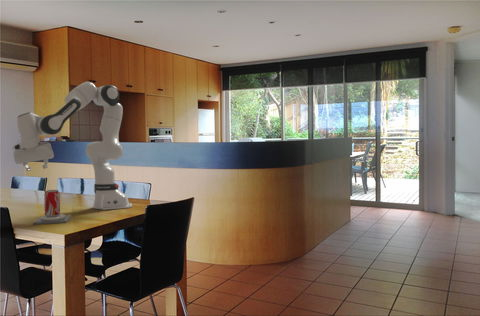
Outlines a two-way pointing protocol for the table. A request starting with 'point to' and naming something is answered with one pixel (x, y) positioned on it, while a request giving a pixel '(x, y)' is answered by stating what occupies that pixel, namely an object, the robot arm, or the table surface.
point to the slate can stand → (53, 219)
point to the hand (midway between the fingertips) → (37, 169)
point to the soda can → (52, 203)
